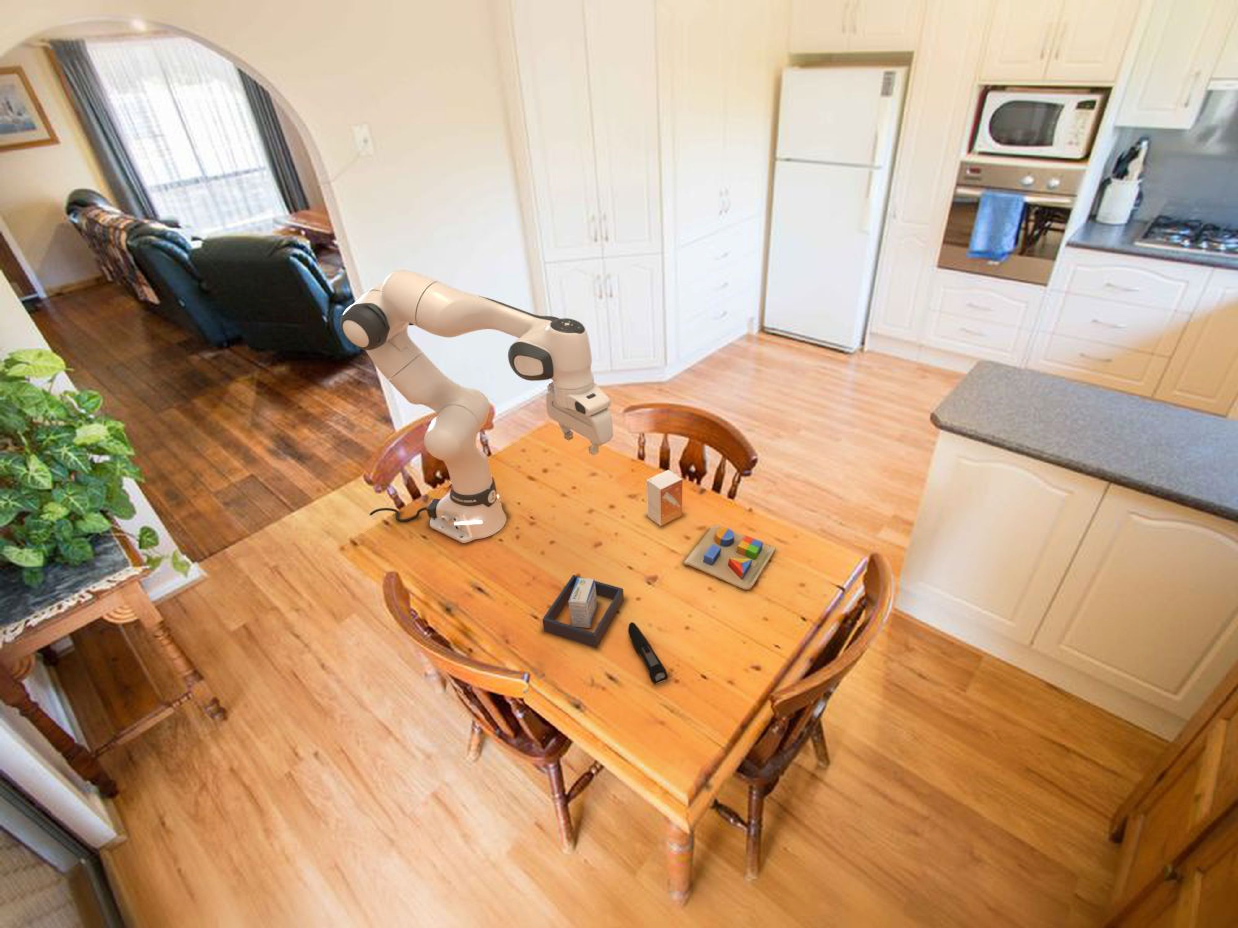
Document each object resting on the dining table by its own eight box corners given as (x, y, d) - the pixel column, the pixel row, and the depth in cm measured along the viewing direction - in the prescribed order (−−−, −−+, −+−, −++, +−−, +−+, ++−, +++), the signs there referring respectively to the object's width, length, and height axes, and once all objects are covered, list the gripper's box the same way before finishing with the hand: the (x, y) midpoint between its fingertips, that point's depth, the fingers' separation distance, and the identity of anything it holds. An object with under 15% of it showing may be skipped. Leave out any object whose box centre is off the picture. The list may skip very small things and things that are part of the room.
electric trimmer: (639, 628, 142) (639, 618, 140) (669, 679, 129) (668, 669, 128) (624, 633, 141) (623, 624, 139) (652, 685, 128) (652, 675, 127)
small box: (661, 527, 171) (660, 489, 164) (647, 516, 176) (645, 479, 168) (683, 515, 175) (683, 478, 168) (668, 505, 179) (668, 468, 172)
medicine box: (590, 629, 142) (586, 602, 137) (571, 626, 143) (567, 600, 138) (597, 604, 148) (595, 578, 144) (580, 602, 149) (576, 576, 144)
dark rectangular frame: (544, 631, 142) (542, 619, 140) (574, 586, 154) (573, 574, 152) (596, 648, 137) (595, 636, 135) (623, 600, 149) (623, 588, 147)
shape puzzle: (750, 593, 149) (752, 580, 146) (682, 566, 158) (682, 554, 155) (776, 550, 161) (778, 538, 158) (711, 528, 170) (711, 516, 167)
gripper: (536, 383, 139) (544, 435, 147) (592, 412, 126) (598, 467, 134) (558, 374, 143) (564, 425, 150) (615, 401, 129) (619, 456, 137)
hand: (581, 445), depth 142 cm, fingers open, 8 cm apart
